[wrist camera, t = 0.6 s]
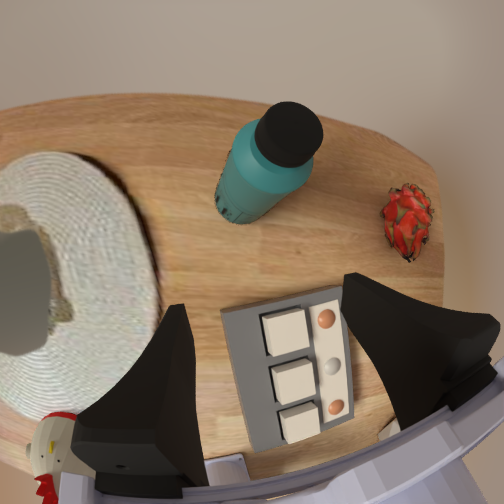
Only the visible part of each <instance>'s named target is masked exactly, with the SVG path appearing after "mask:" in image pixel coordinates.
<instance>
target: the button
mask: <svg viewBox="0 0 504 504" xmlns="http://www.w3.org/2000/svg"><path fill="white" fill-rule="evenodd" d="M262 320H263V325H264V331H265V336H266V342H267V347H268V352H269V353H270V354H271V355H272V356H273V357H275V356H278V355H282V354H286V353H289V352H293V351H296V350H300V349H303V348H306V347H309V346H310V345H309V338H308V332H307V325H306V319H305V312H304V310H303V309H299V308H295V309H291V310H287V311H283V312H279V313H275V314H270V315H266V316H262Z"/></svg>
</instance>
